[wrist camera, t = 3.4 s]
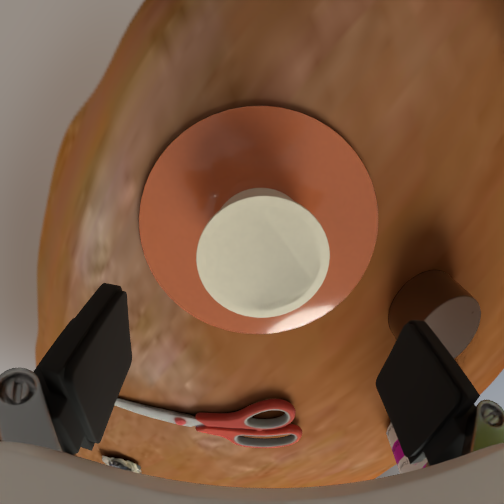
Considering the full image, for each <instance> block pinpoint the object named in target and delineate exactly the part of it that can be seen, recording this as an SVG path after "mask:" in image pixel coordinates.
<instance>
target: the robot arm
mask: <svg viewBox="0 0 504 504" xmlns="http://www.w3.org/2000/svg"><path fill="white" fill-rule="evenodd" d="M131 361H132V351H131V342H130V332H129V320H128V306H127V294H126V292H124V291H122V288H121V287H120V286H117V285H112V284H107V283H103V284H102V285H101V286H100V287H99V288H98V290H97V291H96V292H95V293H94V295H93V296H92V297H91V298H90V300H89V301H88V302H87V303H86V305H85V306H84V307H83V308H82V310H81V311H80V312H79V313H78V315H77V316H76V317H75V318H73V319H72V320H71V321H70V322H69V324H68V325H67V326H66V328H65V329H64V330H63V332H62V333H61V334H60V336H59V337H58V338H57V340H56V341H55V342H54V344H53V345H52V346H51V348H50V349H49V350H48V352H47V353H46V355H45V356H44V357H43V359H42V360H41V362H40V363H39V365H38V366H37V367H36V369H35V370H34V372H32V371H30V370H28V369H25V368H12V369H9V370H7V371H5V372H4V373H2V374H1V375H0V504H504V411H503V409H502V408H501V407H500V406H499V405H498V404H497V403H495V402H493V401H490V400H483V401H481V402H480V403H479V404H478V405H477V406H475V405H474V403H475V402H476V400H477V399H478V398H479V396H480V395H479V394H478V392H477V391H476V389H475V388H474V386H473V385H472V383H471V382H470V381H469V379H468V378H467V376H466V375H465V373H464V372H463V371H462V369H461V368H460V366H459V365H458V364H457V362H456V361H455V360H454V358H453V357H452V356H451V354H450V353H449V351H448V350H447V349H446V347H445V346H444V345H443V344H442V342H441V341H440V340H439V338H438V337H437V336H436V334H435V333H434V332H433V331H432V329H431V328H430V327H429V325H428V324H427V323H426V322H425V321H421V320H410V321H409V322H408V323H407V324H405V325H404V326H403V328H402V330H401V332H400V334H399V336H398V338H397V340H396V342H395V345H394V347H393V349H392V351H391V353H390V354H389V356H388V358H387V360H386V362H385V364H384V366H383V368H382V370H381V372H380V373H379V375H378V377H377V379H376V387H377V390H378V392H379V395H380V397H381V399H382V402H383V404H384V406H385V409H386V411H387V414H388V416H389V418H390V421H391V423H392V426H393V428H394V431H395V433H396V436H397V438H398V441H399V443H400V446H401V448H402V451H403V453H404V455H405V456H406V457H408V460H409V462H410V464H414V463H418V462H422V461H423V460H424V459H425V458H426V459H427V464H426V466H425V468H422V469H418V470H414V471H410V472H406V473H402V474H398V475H393V476H388V477H384V478H378V479H373V480H367V481H361V482H354V483H347V484H339V485H330V486H319V487H304V488H239V487H225V486H214V485H204V484H196V483H189V482H182V481H176V480H170V479H165V478H160V477H154V476H149V475H145V474H140V473H135V472H131V471H127V470H123V469H119V468H115V467H112V466H108V465H105V464H101V463H98V462H95V461H91V460H88V459H84V458H81V457H77V455H76V453H78V452H79V449H80V447H83V448H85V449H88V450H91V451H92V449H93V446H94V443H100V441H101V439H102V436H103V434H104V431H105V428H106V426H107V423H108V420H109V418H110V415H111V412H112V410H113V407H114V405H115V402H116V400H117V397H118V395H119V392H120V390H121V387H122V385H123V382H124V380H125V377H126V375H127V373H128V370H129V368H130V365H131Z"/></svg>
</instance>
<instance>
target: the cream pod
mask: <svg viewBox="0 0 504 504" xmlns="http://www.w3.org/2000/svg"><path fill="white" fill-rule="evenodd" d="M329 260H330V251H329V244H328V239H327V237H326V234H325V231H324V230H323V228H322V226H321V224H320V223H319V222H318V220H317V219H316V218H315V216H314V215H313V214H312V213H311V212H310V211H309V210H307V209H306V208H305V207H303V206H302V205H300V204H299V203H297V202H295V201H294V200H292V199H291V198H290V197H289V196H287V195H286V194H284V193H282V192H280V191H277V190H274V189H269V188H253V189H248V190H245V191H242V192H240V193H238V194H236V195H234V196H233V197H231V198H230V199H229V200H228V201H227V202H226V203H225V204H224V205H223V206H222V208H221V209H220V210H219V211H218V212H217V213H216V214H215V215H214V216H213V217H212V218H211V219H210V220H209V222H208V223H207V225H206V226H205V228H204V230H203V232H202V234H201V236H200V239H199V242H198V246H197V252H196V263H197V270H198V273H199V277H200V279H201V281H202V284H203V285H204V287H205V289H206V290H207V291H208V293H209V294H210V295H211V296H212V297H213V298H214V299H215V300H216V301H217V302H218V303H219V304H221V305H222V306H223V307H225V308H227V309H229V310H230V311H233V312H235V313H237V314H241V315H244V316H249V317H257V318H267V317H275V316H279V315H283V314H286V313H289V312H291V311H293V310H295V309H297V308H299V307H300V306H302V305H303V304H305V303H306V302H307V301H308V300H310V299H311V298H312V297H313V296H314V294H315V293H316V292H317V291H318V289H319V288H320V286H321V285H322V283H323V281H324V279H325V277H326V274H327V271H328V267H329Z"/></svg>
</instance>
